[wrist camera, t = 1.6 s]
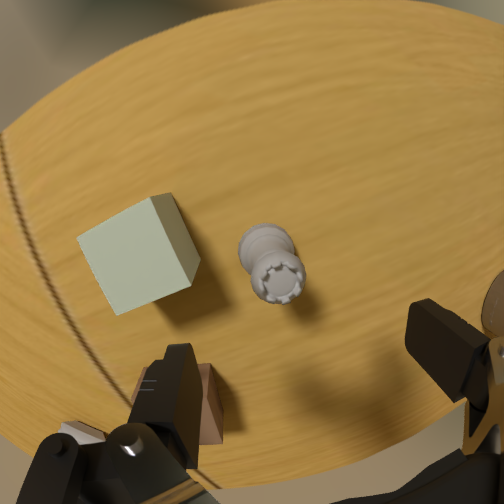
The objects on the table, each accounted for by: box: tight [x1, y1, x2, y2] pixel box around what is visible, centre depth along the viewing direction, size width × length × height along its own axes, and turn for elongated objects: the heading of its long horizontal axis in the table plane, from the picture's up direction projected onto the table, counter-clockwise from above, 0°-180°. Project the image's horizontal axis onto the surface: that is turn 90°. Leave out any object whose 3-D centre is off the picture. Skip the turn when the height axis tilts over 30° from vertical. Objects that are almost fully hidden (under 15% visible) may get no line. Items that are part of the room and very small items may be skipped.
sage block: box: [77, 192, 201, 315], centre depth 19 cm, size 6×6×6 cm
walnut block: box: [131, 363, 223, 445], centre depth 24 cm, size 7×7×5 cm
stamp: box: [58, 420, 106, 445], centre depth 24 cm, size 9×7×8 cm
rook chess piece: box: [238, 223, 306, 305], centre depth 19 cm, size 4×4×8 cm
